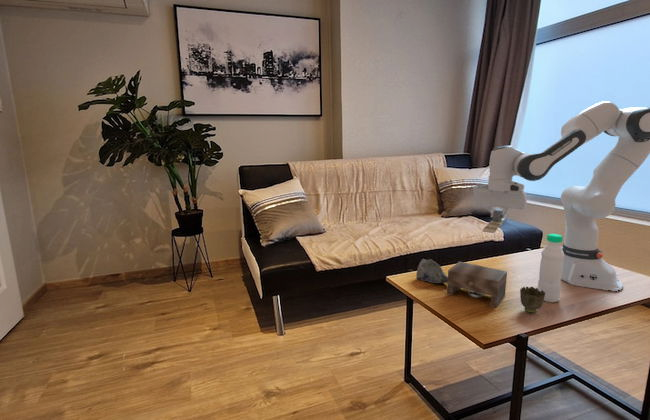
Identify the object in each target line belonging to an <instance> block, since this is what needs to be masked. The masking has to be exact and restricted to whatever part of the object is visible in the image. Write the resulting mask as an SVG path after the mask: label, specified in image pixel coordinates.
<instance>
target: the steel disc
mask: <svg viewBox="0 0 650 420" xmlns="http://www.w3.org/2000/svg"><path fill="white" fill-rule="evenodd" d="M468 295H469V296H470V297H472V298H474V299H475V298H476V299H481V298H483V295H484V294H482V293H478V292H474V291H470V290H468Z"/></svg>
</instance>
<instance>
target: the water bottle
mask: <svg viewBox="0 0 650 420" xmlns="http://www.w3.org/2000/svg"><path fill="white" fill-rule="evenodd" d="M546 236H547V237H546V242H547V244H546V245H545V247H544V248H543V250H542V251H541V259H540V264H539V271H538V273H539V276H538V278H539V279H538V283H537V288H538V291H540V292H541V291H542V290H543V292H545V296H544V300H543V302H545V303H546V302H547V303H556V302H557V303H558V301H559V300H560V291H561V282H562V279H561V277H562V271H563V259H564V252H563V251H562V246H561V244H563V243H562V242H563V239H564V238H563V236H562V235H561V234H557V233H549V234H547V235H546Z"/></svg>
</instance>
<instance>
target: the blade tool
mask: <svg viewBox="0 0 650 420" xmlns="http://www.w3.org/2000/svg"><path fill="white" fill-rule="evenodd" d="M502 213H504V208H496V209H495V210H494V211H493V217H492V220H491V221H489V223H488V224H487V225H486V226H485V227H484V228H482V232H483V233H492V234H495V233H496V232H497V230H498V229H500V226H502V225H503V223H504V222H505V220H506V217H505V218H501V214H502Z"/></svg>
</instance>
